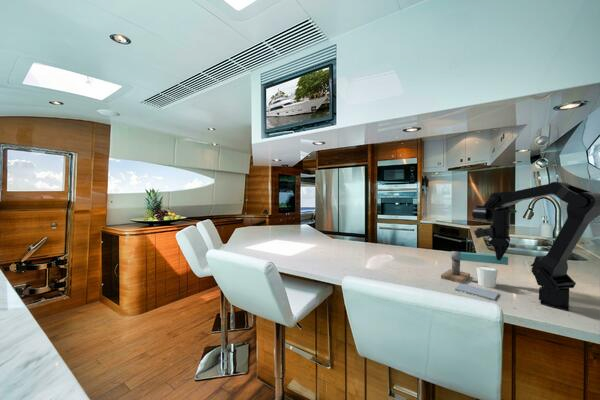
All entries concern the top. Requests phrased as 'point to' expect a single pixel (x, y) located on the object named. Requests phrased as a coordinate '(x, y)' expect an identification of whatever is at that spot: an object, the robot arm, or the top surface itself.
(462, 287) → the slate mat
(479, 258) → the bar
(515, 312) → the top surface
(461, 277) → the stand
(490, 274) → the white tapered cup
